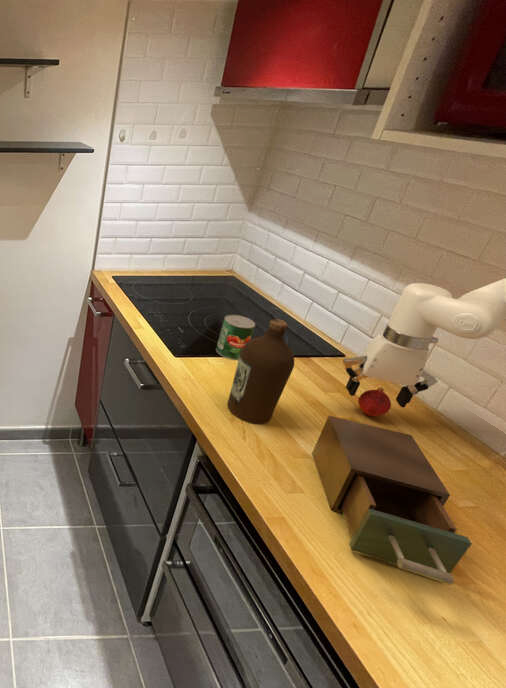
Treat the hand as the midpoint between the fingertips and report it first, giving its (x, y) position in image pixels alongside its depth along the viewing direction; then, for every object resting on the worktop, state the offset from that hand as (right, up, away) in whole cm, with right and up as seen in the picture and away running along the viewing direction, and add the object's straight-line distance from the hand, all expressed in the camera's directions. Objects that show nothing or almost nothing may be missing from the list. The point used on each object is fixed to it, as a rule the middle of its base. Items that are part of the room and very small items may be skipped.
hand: (374, 398), depth 107 cm
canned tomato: (-19, +7, +27) cm, 34 cm away
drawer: (-25, -18, -30) cm, 43 cm away
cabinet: (-20, -14, -19) cm, 31 cm away
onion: (0, -5, +2) cm, 5 cm away
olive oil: (-29, -4, +2) cm, 29 cm away
